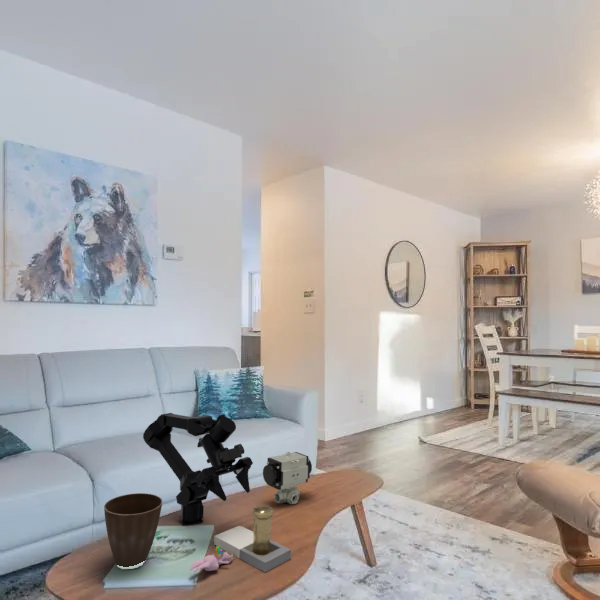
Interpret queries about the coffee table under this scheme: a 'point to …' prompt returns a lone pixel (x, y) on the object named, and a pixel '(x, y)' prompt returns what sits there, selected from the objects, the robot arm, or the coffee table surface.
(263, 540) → the brass fitting
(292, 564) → the coffee table surface
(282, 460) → the ball valve
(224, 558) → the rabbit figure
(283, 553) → the grey holder base
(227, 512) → the coffee table surface
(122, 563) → the plant pot
